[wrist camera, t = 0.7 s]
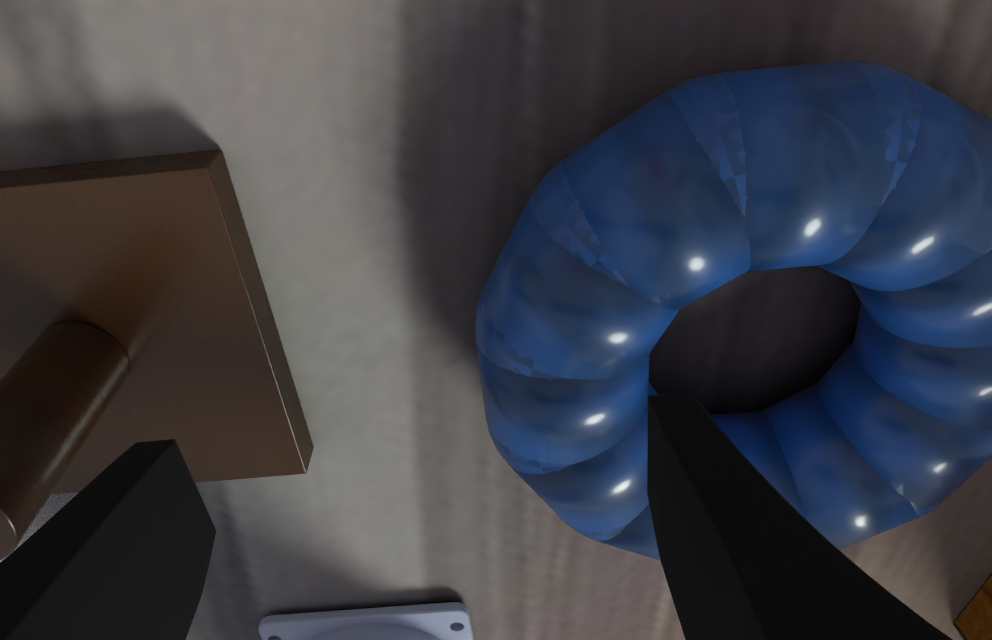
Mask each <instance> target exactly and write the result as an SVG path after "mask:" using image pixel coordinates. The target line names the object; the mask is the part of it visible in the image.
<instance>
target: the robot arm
mask: <svg viewBox="0 0 992 640" xmlns="http://www.w3.org/2000/svg"><path fill="white" fill-rule="evenodd" d="M647 496H648V501H649V506H650V511H651V516H652V522H653V527H654V532H655V537H656V542H657V547H658V551H659V556H660V560H661V563H662V566H663V569H664V573H665V576H666V579H667V582H668V585H669V589H670V592H671V595H672V598H673V601H674V604H675V608H676V611H677V614H678V617H679V620H680V623H681V626H682V630H683V633H684V636H685V639H686V640H952V639H951V638H950V637H948V636H947V635H945V634H944V633H942V632H941V631H940V630H938V629H937V628H935V627H934V626H932V625H931V624H930V623H928V622H927V621H926V620H924V619H923V618H922V617H920V616H919V615H918V614H917V613H915V612H914V611H913V610H911V609H910V608H909V607H907V606H906V605H905V604H904V603H902V602H901V601H900V600H898V599H897V598H896V597H894V596H893V595H892V594H891V593H889V592H888V591H887V590H886V589H884V588H883V587H882V586H881V585H880V584H878V583H877V582H876V581H875V580H874V579H872V578H871V577H870V576H869V575H867V574H866V573H865V572H864V571H863V570H861V569H860V568H859V567H858V566H857V565H855V564H854V563H853V562H852V561H851V560H850V559H849V558H847V557H846V556H845V555H844V554H843V553H842V552H841V551H839V550H838V549H837V548H836V547H835V546H834V545H833V544H832V543H831V542H829V541H828V540H827V539H826V538H825V537H824V536H823V535H822V534H821V533H820V532H819V531H818V530H817V529H816V528H814V527H813V526H812V525H811V524H810V523H809V522H808V521H807V520H806V519H805V518H804V517H803V516H802V515H801V514H800V513H799V512H798V511H797V510H796V509H795V508H794V507H793V506H792V505H791V504H790V503H789V502H788V501H787V500H786V499H785V498H784V497H783V496H782V495H781V494H780V493H779V492H778V491H777V490H776V489H775V488H774V487H773V486H772V485H771V484H770V483H769V482H768V481H767V480H766V478H765V477H764V476H763V475H762V474H761V473H760V472H759V471H758V470H757V469H756V468H755V467H754V466H753V465H752V464H751V462H750V461H749V460H748V459H747V458H746V457H745V456H744V455H743V454H742V452H741V451H740V450H739V449H738V448H737V447H736V446H735V444H734V443H733V442H732V441H731V440H730V439H729V438H728V436H727V435H726V434H725V433H724V432H723V430H722V429H721V428H720V427H719V426H718V424H717V423H716V422H715V421H714V420H713V418H712V417H711V416H710V415H709V413H708V412H707V411H706V410H705V408H704V407H703V406H702V405H701V403H700V402H699V401H698V399H697V398H696V397H695V396H693V395H692V394H691V393H690V392H685V393H674V394H663V395H652V396H648V456H647ZM215 534H216V529H215V527H214V525H213V523H212V520H211V518H210V516H209V514H208V512H207V509H206V507H205V505H204V503H203V500H202V498H201V496H200V494H199V492H198V489H197V487H196V485H195V483H194V480H193V478H192V476H191V474H190V472H189V469H188V467H187V465H186V463H185V460H184V458H183V456H182V454H181V452H180V449H179V447H178V445H177V443H176V440H175V439H168V440H157V441H146V442H136V443H135V444H134V445H132V446H131V447H130V448H129V449H128V450H126V451H125V452H124V453H123V454H121V455H120V456H119V457H118V458H117V459H116V460H115V461H113V462H112V463H111V464H110V465H109V466H108V467H107V468H106V469H104V470H103V471H102V472H101V473H100V474H99V475H98V476H97V477H96V478H95V479H93V480H92V481H91V482H90V483H89V484H88V485H87V486H86V487H85V488H84V489H82V490H81V491H80V492H79V493H78V494H77V495H76V496H75V497H74V498H73V499H72V500H70V501H69V502H68V503H67V504H66V505H65V506H64V507H63V508H62V509H61V510H59V511H58V512H57V513H56V514H55V515H54V516H53V517H52V518H51V519H49V520H48V521H47V522H46V523H45V524H44V525H43V526H42V527H41V528H40V529H38V530H37V531H36V532H35V533H34V534H33V535H32V536H31V537H30V538H28V539H27V540H26V541H25V542H24V543H23V544H22V545H21V546H20V547H18V548H17V549H16V550H15V551H14V552H13V553H12V554H10V555H9V556H8V557H7V558H6V559H4V560H3V561H2V562H1V563H0V640H186V637H187V634H188V631H189V629H190V626H191V623H192V620H193V618H194V615H195V612H196V609H197V607H198V604H199V601H200V598H201V595H202V592H203V588H204V584H205V579H206V575H207V571H208V567H209V563H210V558H211V553H212V548H213V543H214V539H215ZM258 631H259V634H260V636H261V638H262V640H474V636H473V631H472V625H471V620H470V614H469V609H468V607H467V606H466V605H464V604H463V603H460V602H447V603H433V604H419V605H406V606H392V607H378V608H365V609H351V610H337V611H324V612H310V613H296V614H283V615H270V616H266V617H264V618H262V619H261V621H260V624H259V628H258Z"/></svg>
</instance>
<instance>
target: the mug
mask: <svg viewBox="0 0 992 640" xmlns="http://www.w3.org/2000/svg"><path fill="white" fill-rule="evenodd" d="M953 624H954V626H955V628H956V629H957V631H958V632H959V634H960V635H961V637H962V638H963V640H992V575H991V577H990V578H989V579H988V580H987V582H986V583H985V584H984V586H983V587H982V588H981V589H980V591H979V592H978V593H977V594H976V596H975V597H974V598H973V599H972V601H971V602H970V603H969V605H968V606H967V607H966V608H965V610H964V611H963V612H962V613H961V615H960V616H959V617H958V618H957V620H956V621H955V622H954V623H953Z"/></svg>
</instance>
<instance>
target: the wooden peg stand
mask: <svg viewBox="0 0 992 640" xmlns="http://www.w3.org/2000/svg"><path fill="white" fill-rule="evenodd" d="M168 439H175V440H176V443H177V445H178V447H179V449H180V452H181V454H182V456H183V458H184V460H185V463H186V465H187V467H188V469H189V472H190V474H191V476H192V478H193V480H194V482H207V481H219V480H231V479H244V478H256V477H269V476H281V475H293V474H305V473H307V469H308V466H309V462H310V458H311V455H312V451H313V448H314V447H313V444H312V440H311V437H310V434H309V431H308V427H307V424H306V421H305V418H304V414H303V411H302V408H301V405H300V402H299V398H298V395H297V392H296V389H295V385H294V382H293V379H292V376H291V372H290V369H289V366H288V363H287V359H286V356H285V353H284V350H283V346H282V343H281V340H280V337H279V334H278V330H277V327H276V324H275V321H274V317H273V314H272V311H271V308H270V304H269V301H268V298H267V295H266V291H265V288H264V285H263V282H262V278H261V275H260V272H259V269H258V266H257V262H256V259H255V256H254V253H253V249H252V246H251V243H250V240H249V236H248V233H247V230H246V227H245V223H244V220H243V217H242V214H241V211H240V207H239V204H238V201H237V198H236V194H235V191H234V188H233V185H232V181H231V178H230V175H229V172H228V168H227V165H226V162H225V159H224V155H223V152H222V150H213V151H203V152H193V153H183V154H172V155H162V156H152V157H142V158H132V159H122V160H112V161H102V162H92V163H82V164H71V165H61V166H51V167H41V168H31V169H21V170H11V171H1V172H0V560H1V559H3V558H5V557H6V556H8V555H9V554H11V553H12V552H13V551H14V549H15V548H16V547H17V545H18V544H19V542H20V540H21V539H22V537H23V536H24V534H25V533H26V531H27V530H28V528H29V527H30V525H31V524H32V522H33V521H34V519H35V517H36V516H37V514H38V513H39V511H40V510H41V508H42V507H43V505H44V504H45V502H46V501H47V499H48V498H49V496H50V494H58V493H71V492H80V491H81V490H82V489H84V488H85V487H86V486H87V485H88V484H89V483H90V482H91V481H92V480H93V479H95V478H96V477H97V476H98V475H99V474H100V473H101V472H102V471H103V470H104V469H106V468H107V467H108V466H109V465H110V464H111V463H112V462H113V461H115V460H116V459H117V458H118V457H119V456H120V455H121V454H123V453H124V452H125V451H126V450H128V449H129V448H130V447H131V446H132V445H134V444H135V443H136V442H146V441H157V440H168Z"/></svg>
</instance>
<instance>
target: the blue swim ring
mask: <svg viewBox="0 0 992 640" xmlns="http://www.w3.org/2000/svg"><path fill="white" fill-rule="evenodd" d="M804 266H817V267H820V268H822V269H824V270H826V271H829V272H831V273H833V274H835V275H838V276H840V277H842V278H844V279H847V280H849V281H850V282H851V284H852V286H853V288H854V289H855V291H856V293H857V295H858V297H859V299H860V301H861V308H860V313H859V318H858V323H857V328H856V333H855V338H854V341H853V342H852V343H851V344H850V346H849V347H848V348H847V349H846V350H845V351H844V352H843V354H842V355H841V356H840V357H839V358H838V359H837V361H836V362H835V363H834V364H833V365H832V366H831V367H830V369H829V370H828V371H827V372H826V373H825V374H824V376H823V377H822V378H821V379H820V380H819V381H818V383H816V384H814V385H812V386H810V387H808V388H806V389H804V390H802V391H800V392H797V393H795V394H793V395H791V396H789V397H787V398H785V399H783V400H781V401H779V402H777V403H775V404H773V405H771V406H769V407H767V408H765V409H763V410H761V411H753V412H741V413H729V414H717V415H710V416H711V417H712V418H713V420H714V421H715V422H716V423H717V424H718V426H719V427H720V428H721V429H722V430H723V432H724V433H725V434H726V435H727V436H728V438H729V439H730V440H731V441H732V442H733V443H734V444H735V446H736V447H737V448H738V449H739V450H740V451H741V452H742V454H743V455H744V456H745V457H746V458H747V459H748V460H749V461H750V462H751V464H752V465H753V466H754V467H755V468H756V469H757V470H758V471H759V472H760V473H761V474H762V475H763V476H764V477H765V478H766V480H767V481H768V482H769V483H770V484H771V485H772V486H773V487H774V488H775V489H776V490H777V491H778V492H779V493H780V494H781V495H782V496H783V497H784V498H785V499H786V500H787V501H788V502H789V503H790V504H791V505H792V506H793V507H794V508H795V509H796V510H797V511H798V512H799V513H800V514H801V515H802V516H803V517H804V518H805V519H806V520H807V521H808V522H809V523H810V524H811V525H812V526H813V527H814V528H816V529H817V530H818V531H819V532H820V533H821V534H822V535H823V536H824V537H825V538H826V539H827V540H828V541H829V542H831V543H832V544H833V545H834V546H835V547H836V548H837V549H838V550H841V549H844V548H846V547H849V546H851V545H853V544H856V543H858V542H861V541H863V540H865V539H868V538H870V537H873V536H875V535H877V534H880V533H882V532H885V531H887V530H889V529H892V528H894V527H897V526H899V525H901V524H904V523H906V522H909V521H911V520H913V519H916V518H918V517H920V516H922V515H924V514H927V513H928V512H929V511H931V510H933V509H934V508H935V507H937V506H938V505H939V504H941V503H942V502H943V501H944V500H945V499H946V498H947V497H948V496H950V495H951V494H952V493H953V492H954V491H955V490H956V489H957V488H958V487H959V486H961V485H962V484H963V483H964V482H965V481H966V480H967V479H968V478H969V477H970V476H972V475H973V474H974V473H975V472H976V471H977V470H978V469H979V468H980V467H981V466H983V465H984V464H985V463H986V462H987V461H988V460H989V459H990V458H991V457H992V120H991V119H990V118H988V117H986V116H984V115H982V114H980V113H978V112H977V111H975V110H973V109H971V108H969V107H967V106H965V105H964V104H962V103H960V102H958V101H956V100H954V99H952V98H951V97H949V96H947V95H945V94H943V93H941V92H939V91H937V90H936V89H934V88H932V87H930V86H928V85H926V84H924V83H923V82H921V81H919V80H917V79H915V78H913V77H911V76H910V75H908V74H906V73H904V72H901V71H899V70H897V69H894V68H892V67H889V66H886V65H883V64H879V63H875V62H869V61H860V60H852V61H832V62H822V63H812V64H802V65H792V66H782V67H772V68H762V69H752V70H742V71H733V72H723V73H715V74H710V75H702V76H699V77H695V78H692V79H689V80H686V81H683V82H681V83H680V84H677V85H675V86H673V87H672V88H670V89H668V90H667V91H665V92H663V93H662V94H660V95H659V96H657V97H656V98H654V99H653V100H651V101H650V102H648V103H647V104H645V105H644V106H642V107H641V108H639V109H638V110H636V111H635V112H633V113H632V114H630V115H629V116H627V117H626V118H624V119H623V120H621V121H620V122H618V123H617V124H615V125H614V126H612V127H611V128H609V129H608V130H606V131H605V132H603V133H602V134H600V135H599V136H597V137H595V138H594V139H592V140H591V141H589V142H588V143H586V144H585V145H583V146H582V147H580V148H579V149H577V150H576V151H574V152H573V153H571V154H570V155H568V156H567V157H565V158H564V159H563V160H561V161H560V162H559V163H557V164H556V165H555V166H554V167H553V168H552V169H550V170H549V171H548V172H547V174H546V175H545V176H544V177H543V178H542V179H541V181H540V182H539V183H538V184H537V186H536V187H535V189H534V191H533V193H532V194H531V195H530V197H529V199H528V201H527V203H526V205H525V207H524V209H523V211H522V213H521V215H520V217H519V219H518V221H517V222H516V224H515V226H514V228H513V230H512V232H511V234H510V236H509V238H508V240H507V242H506V244H505V246H504V248H503V250H502V251H501V253H500V255H499V257H498V259H497V261H496V263H495V265H494V267H493V269H492V271H491V273H490V275H489V277H488V279H487V281H486V282H485V284H484V287H483V289H482V291H481V294H480V296H479V299H478V303H477V308H476V314H475V322H474V326H475V340H476V347H477V355H478V362H479V369H480V377H481V384H482V392H483V399H484V406H485V414H486V421H487V425H488V430H489V432H490V436H491V438H492V440H493V442H494V444H495V446H496V448H497V450H498V451H499V453H500V455H501V456H502V457H503V458H504V459H505V461H506V462H507V463H508V464H509V465H510V466H511V467H512V468H513V469H514V470H515V472H516V473H517V474H518V475H519V476H520V477H521V478H522V479H523V480H524V481H525V482H526V483H527V484H528V485H529V486H530V487H531V488H532V489H533V490H534V491H535V492H536V493H537V494H538V495H539V496H540V497H541V498H542V499H543V500H544V501H545V502H546V503H547V504H548V505H549V507H550V508H551V509H552V510H553V511H554V512H555V513H556V514H557V515H558V516H559V517H560V518H561V519H562V520H563V521H564V522H565V523H566V524H567V525H569V526H570V527H572V528H573V529H574V530H575V531H577V532H579V533H581V534H582V535H584V536H586V537H589V538H591V539H593V540H596V541H599V542H602V543H605V544H608V545H612V546H615V547H618V548H622V549H625V550H628V551H631V552H635V553H638V554H641V555H644V556H648V557H651V558H654V559H657V560H660V556H659V551H658V547H657V542H656V537H655V532H654V527H653V522H652V516H651V511H650V506H649V501H648V496H647V456H648V396H652V395H659V394H658V393H657V392H656V390H655V389H654V388H653V386H652V385H651V384H650V383H649V353H650V352H651V350H652V349H653V348H654V346H655V345H656V343H657V342H658V340H659V339H660V338H661V336H662V335H663V333H664V332H665V330H666V329H667V327H668V326H669V325H670V323H671V322H672V320H673V319H674V317H675V316H676V314H677V313H678V312H679V310H680V309H681V308H683V307H684V306H686V305H688V304H690V303H692V302H693V301H695V300H697V299H699V298H700V297H702V296H704V295H706V294H708V293H709V292H711V291H713V290H715V289H717V288H718V287H720V286H722V285H724V284H726V283H727V282H729V281H731V280H733V279H735V278H736V277H738V276H740V275H742V274H743V273H745V272H748V271H759V270H770V269H782V268H793V267H804Z"/></svg>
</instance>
